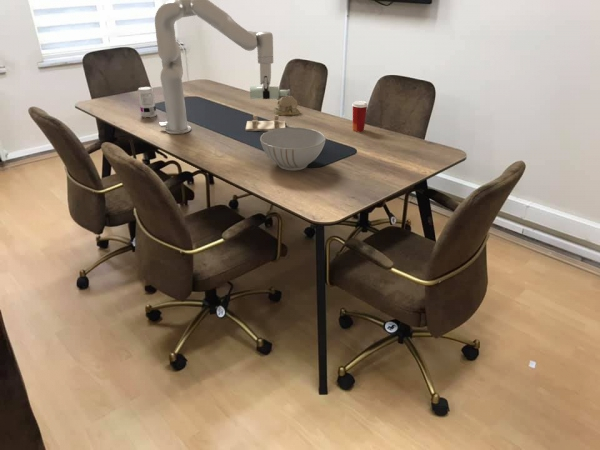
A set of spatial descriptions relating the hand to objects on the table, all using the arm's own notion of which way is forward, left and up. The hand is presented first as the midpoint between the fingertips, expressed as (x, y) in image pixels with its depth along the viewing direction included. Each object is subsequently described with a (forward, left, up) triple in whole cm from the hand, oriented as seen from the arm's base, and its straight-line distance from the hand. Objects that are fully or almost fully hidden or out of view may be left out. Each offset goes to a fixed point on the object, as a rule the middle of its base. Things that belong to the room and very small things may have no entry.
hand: (266, 96), depth 233 cm
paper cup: (+46, -7, -16) cm, 49 cm away
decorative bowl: (+12, -52, -16) cm, 56 cm away
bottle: (+2, 0, -1) cm, 2 cm away
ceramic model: (+10, +25, -16) cm, 31 cm away
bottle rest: (-1, 0, -15) cm, 15 cm away
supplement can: (-66, +21, -16) cm, 71 cm away
